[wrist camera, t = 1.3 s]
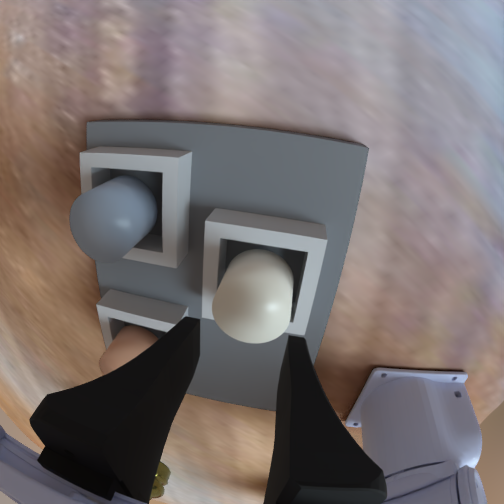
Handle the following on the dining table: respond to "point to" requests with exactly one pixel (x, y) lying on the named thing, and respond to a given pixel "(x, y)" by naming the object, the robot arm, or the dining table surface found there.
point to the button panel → (226, 235)
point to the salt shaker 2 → (160, 481)
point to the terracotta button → (126, 347)
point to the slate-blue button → (113, 218)
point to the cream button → (254, 297)
